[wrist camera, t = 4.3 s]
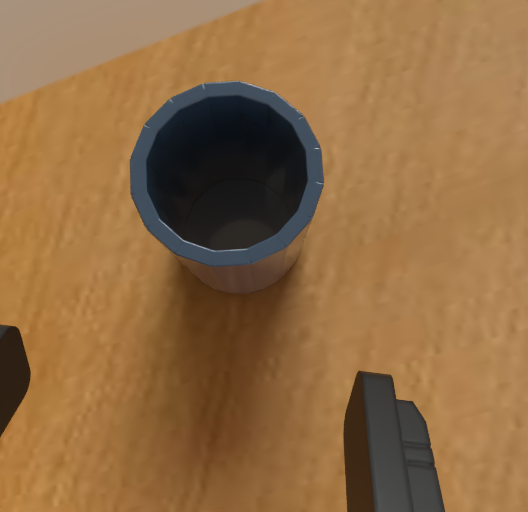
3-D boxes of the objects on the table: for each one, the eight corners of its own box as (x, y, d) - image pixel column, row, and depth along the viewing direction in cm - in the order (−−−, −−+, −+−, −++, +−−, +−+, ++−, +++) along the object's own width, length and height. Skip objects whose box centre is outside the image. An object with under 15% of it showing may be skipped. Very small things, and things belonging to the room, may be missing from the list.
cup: (158, 204, 24) (99, 128, 15) (268, 153, 24) (270, 52, 16) (209, 315, 23) (178, 299, 14) (323, 260, 23) (357, 213, 15)
